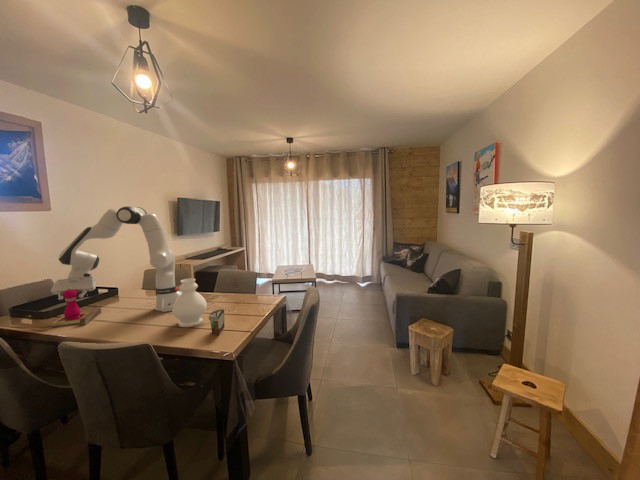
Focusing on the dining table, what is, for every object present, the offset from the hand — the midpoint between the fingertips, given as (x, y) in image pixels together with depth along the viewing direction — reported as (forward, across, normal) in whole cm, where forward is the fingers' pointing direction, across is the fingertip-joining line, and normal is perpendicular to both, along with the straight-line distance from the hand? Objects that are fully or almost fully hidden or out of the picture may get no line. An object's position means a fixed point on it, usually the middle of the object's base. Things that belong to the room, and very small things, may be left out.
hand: (70, 298), depth 153 cm
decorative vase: (+31, +66, -11) cm, 74 cm away
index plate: (+10, 0, +10) cm, 14 cm away
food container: (+44, +80, -24) cm, 94 cm away
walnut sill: (+10, +9, +10) cm, 17 cm away
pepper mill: (+9, 0, +10) cm, 13 cm away
